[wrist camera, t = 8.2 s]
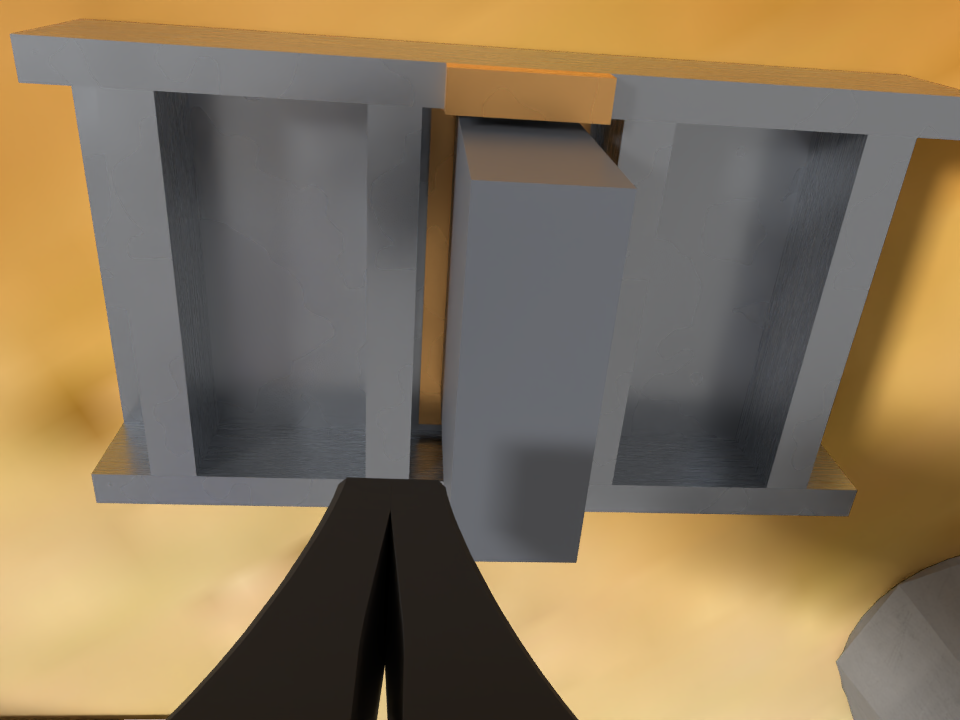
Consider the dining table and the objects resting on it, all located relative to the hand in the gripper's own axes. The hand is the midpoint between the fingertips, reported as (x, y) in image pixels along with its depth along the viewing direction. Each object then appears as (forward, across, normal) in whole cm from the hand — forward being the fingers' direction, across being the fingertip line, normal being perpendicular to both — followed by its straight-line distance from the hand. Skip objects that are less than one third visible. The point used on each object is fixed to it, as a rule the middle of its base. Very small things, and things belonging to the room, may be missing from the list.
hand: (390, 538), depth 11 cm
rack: (+10, -2, 0) cm, 10 cm away
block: (+9, -2, -1) cm, 9 cm away
